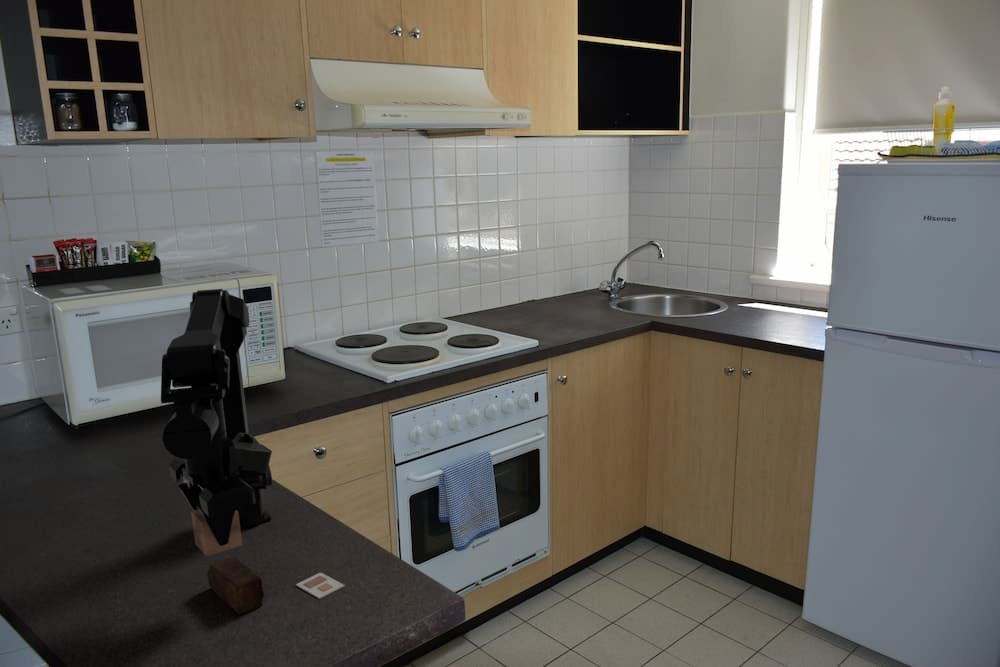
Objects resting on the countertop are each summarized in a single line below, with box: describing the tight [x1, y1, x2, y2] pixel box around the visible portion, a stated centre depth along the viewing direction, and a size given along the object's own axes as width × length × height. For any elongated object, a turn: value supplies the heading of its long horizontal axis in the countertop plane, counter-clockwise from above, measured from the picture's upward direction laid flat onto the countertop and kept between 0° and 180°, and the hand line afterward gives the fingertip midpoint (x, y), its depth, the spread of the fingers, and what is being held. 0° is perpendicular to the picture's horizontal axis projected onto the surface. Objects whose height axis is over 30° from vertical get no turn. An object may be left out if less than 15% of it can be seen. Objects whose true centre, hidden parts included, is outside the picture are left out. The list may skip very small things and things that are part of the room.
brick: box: [206, 557, 265, 616], centre depth 111 cm, size 11×4×5 cm, turn 42°
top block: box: [190, 509, 243, 558], centre depth 108 cm, size 5×5×5 cm
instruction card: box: [295, 572, 346, 600], centre depth 113 cm, size 6×4×1 cm
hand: (217, 538), depth 108 cm, fingers closed on top block, 5 cm apart
